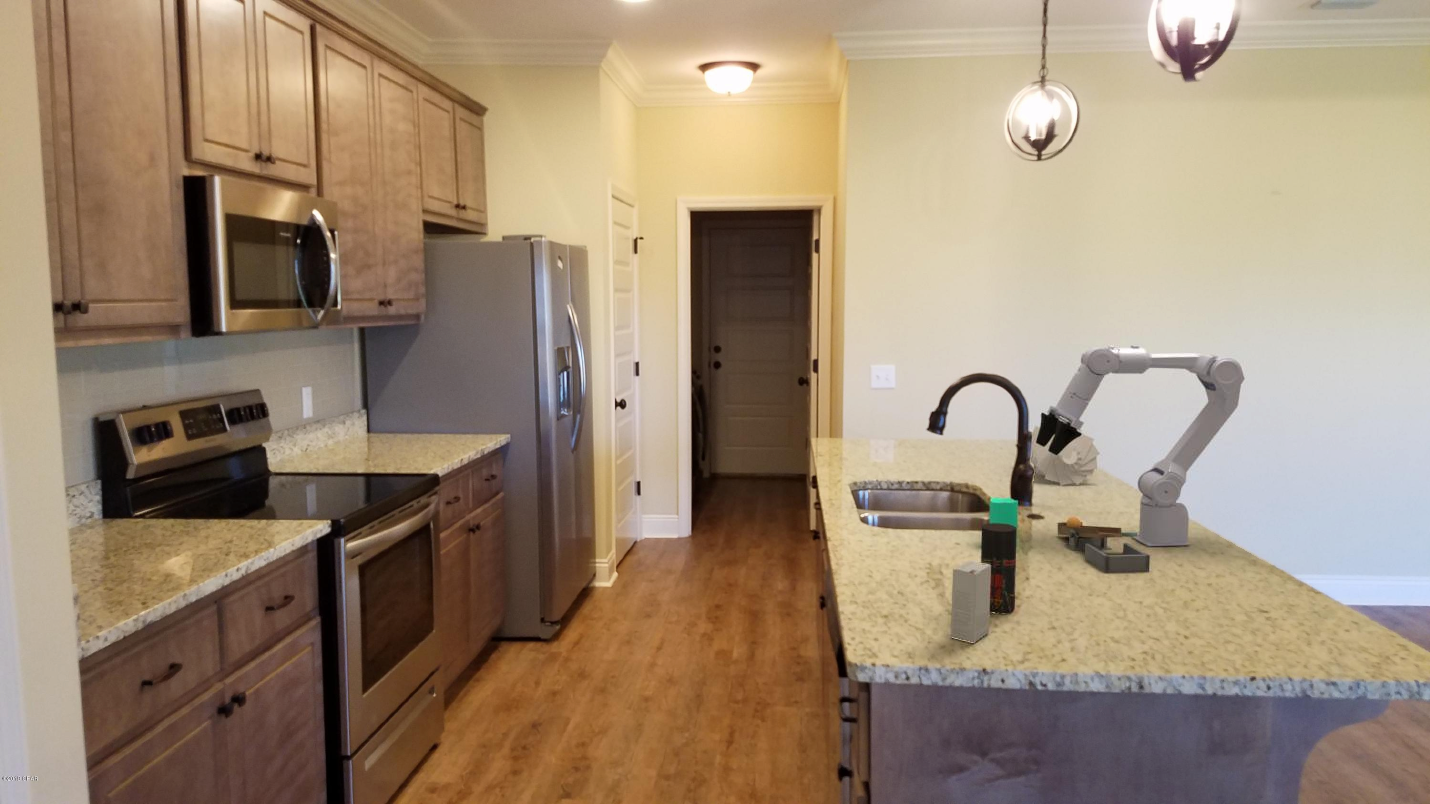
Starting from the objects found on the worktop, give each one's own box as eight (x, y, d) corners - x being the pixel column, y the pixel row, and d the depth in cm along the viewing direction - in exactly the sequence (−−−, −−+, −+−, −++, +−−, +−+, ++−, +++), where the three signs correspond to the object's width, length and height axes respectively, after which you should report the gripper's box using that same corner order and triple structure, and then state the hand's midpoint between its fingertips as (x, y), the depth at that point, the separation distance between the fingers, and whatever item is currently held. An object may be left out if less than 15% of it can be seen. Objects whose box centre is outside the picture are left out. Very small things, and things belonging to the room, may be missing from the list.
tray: (1126, 557, 191) (1127, 542, 191) (1149, 571, 182) (1149, 555, 182) (1084, 558, 191) (1085, 543, 191) (1105, 572, 182) (1105, 556, 181)
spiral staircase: (1063, 484, 284) (1085, 498, 259) (1011, 460, 285) (1028, 471, 261) (1090, 432, 282) (1115, 441, 257) (1037, 408, 283) (1057, 415, 258)
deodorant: (976, 602, 165) (977, 523, 164) (1009, 602, 165) (1011, 522, 163) (985, 614, 159) (986, 531, 158) (1019, 614, 159) (1021, 531, 157)
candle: (1018, 549, 199) (1019, 496, 197) (990, 548, 200) (991, 495, 199) (1015, 542, 205) (1016, 490, 203) (987, 541, 206) (988, 490, 204)
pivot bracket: (1102, 544, 202) (1103, 527, 202) (1111, 549, 198) (1112, 532, 197) (1064, 545, 202) (1065, 528, 201) (1073, 550, 198) (1073, 533, 197)
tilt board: (1100, 533, 210) (1099, 521, 210) (1143, 536, 190) (1142, 523, 190) (1058, 534, 209) (1057, 522, 210) (1096, 538, 189) (1095, 524, 190)
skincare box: (965, 628, 153) (966, 559, 151) (990, 634, 150) (992, 563, 149) (949, 639, 148) (950, 567, 147) (975, 645, 145) (976, 572, 144)
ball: (1077, 529, 209) (1077, 516, 209) (1083, 532, 206) (1083, 518, 205) (1064, 530, 209) (1063, 516, 209) (1069, 532, 205) (1069, 518, 205)
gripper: (1049, 382, 209) (1019, 433, 211) (1075, 394, 194) (1042, 449, 197) (1075, 396, 209) (1045, 447, 212) (1102, 409, 195) (1070, 463, 197)
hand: (1046, 449), depth 204 cm, fingers open, 7 cm apart
